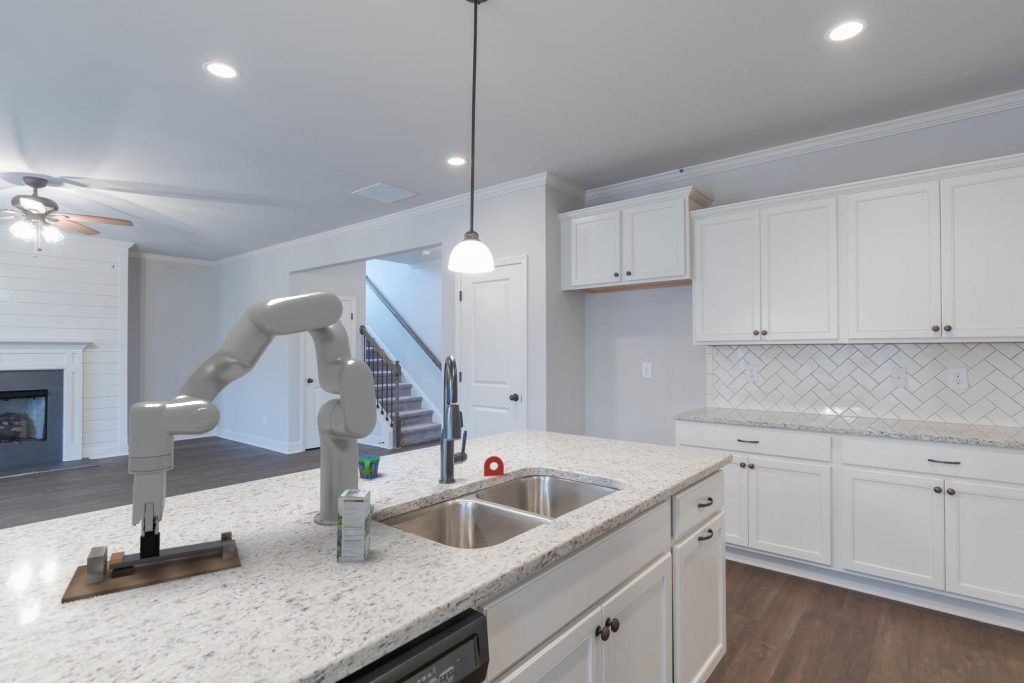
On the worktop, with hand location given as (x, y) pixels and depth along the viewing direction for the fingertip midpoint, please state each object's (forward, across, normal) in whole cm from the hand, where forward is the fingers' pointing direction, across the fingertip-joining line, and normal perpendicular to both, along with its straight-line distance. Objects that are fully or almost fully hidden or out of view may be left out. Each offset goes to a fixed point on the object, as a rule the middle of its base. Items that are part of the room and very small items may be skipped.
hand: (149, 554), depth 104 cm
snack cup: (+4, -51, +59) cm, 78 cm away
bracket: (+4, -26, +98) cm, 101 cm away
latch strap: (+1, 0, +14) cm, 14 cm away
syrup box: (+4, +15, +37) cm, 40 cm away
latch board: (+4, 0, +4) cm, 5 cm away
